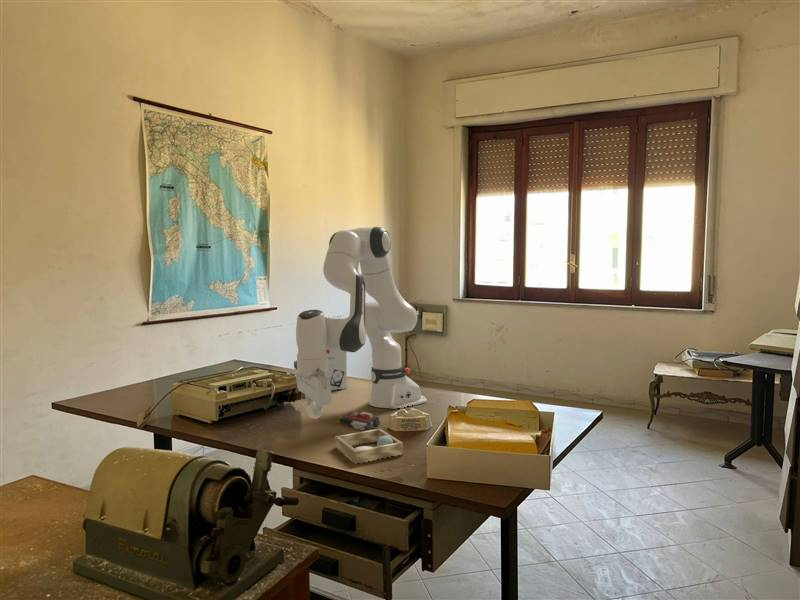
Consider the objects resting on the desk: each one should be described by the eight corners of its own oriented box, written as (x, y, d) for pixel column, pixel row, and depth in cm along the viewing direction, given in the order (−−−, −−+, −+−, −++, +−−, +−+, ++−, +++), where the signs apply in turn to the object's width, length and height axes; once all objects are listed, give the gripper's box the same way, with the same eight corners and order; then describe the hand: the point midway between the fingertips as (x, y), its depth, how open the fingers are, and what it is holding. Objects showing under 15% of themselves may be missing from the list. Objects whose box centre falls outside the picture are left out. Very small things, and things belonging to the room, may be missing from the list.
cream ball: (319, 414, 170) (319, 399, 169) (325, 419, 165) (324, 403, 165) (304, 417, 167) (303, 401, 167) (309, 422, 163) (309, 405, 163)
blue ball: (388, 447, 169) (388, 432, 168) (396, 453, 165) (396, 437, 164) (374, 450, 167) (374, 435, 166) (381, 455, 162) (381, 439, 162)
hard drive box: (312, 393, 234) (310, 345, 232) (307, 389, 241) (306, 342, 239) (347, 389, 240) (346, 342, 239) (341, 385, 247) (340, 340, 246)
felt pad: (369, 445, 171) (369, 444, 171) (377, 452, 166) (377, 451, 166) (350, 449, 168) (350, 448, 168) (358, 455, 163) (358, 454, 163)
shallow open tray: (380, 439, 177) (380, 428, 176) (403, 454, 163) (402, 442, 163) (335, 447, 170) (335, 436, 169) (355, 464, 156) (355, 452, 156)
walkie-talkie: (335, 425, 192) (383, 436, 181) (334, 413, 192) (382, 422, 180) (351, 419, 199) (398, 428, 188) (351, 406, 199) (398, 415, 188)
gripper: (336, 371, 157) (338, 420, 159) (311, 358, 175) (313, 402, 176) (314, 374, 154) (316, 424, 156) (291, 361, 172) (293, 405, 174)
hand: (314, 412), depth 166 cm, fingers closed on cream ball, 5 cm apart
